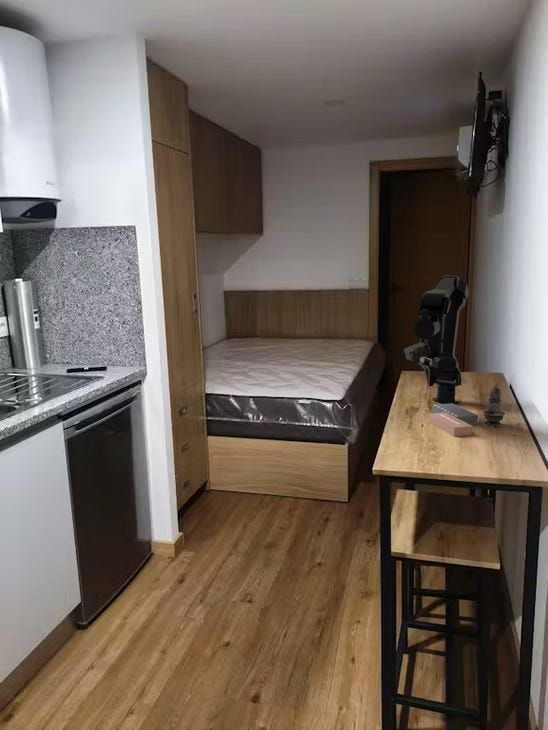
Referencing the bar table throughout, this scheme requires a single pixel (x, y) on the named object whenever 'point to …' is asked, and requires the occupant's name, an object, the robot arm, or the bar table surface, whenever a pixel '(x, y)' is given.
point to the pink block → (450, 424)
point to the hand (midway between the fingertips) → (430, 386)
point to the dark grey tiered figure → (494, 409)
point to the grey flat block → (456, 412)
